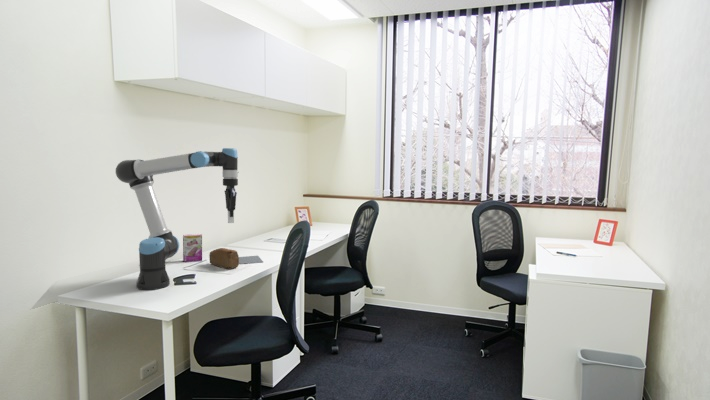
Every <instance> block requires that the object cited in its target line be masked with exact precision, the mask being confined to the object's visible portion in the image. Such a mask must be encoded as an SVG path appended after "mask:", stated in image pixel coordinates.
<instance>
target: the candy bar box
mask: <svg viewBox="0 0 710 400" xmlns="http://www.w3.org/2000/svg"><path fill="white" fill-rule="evenodd" d="M182 235H183V236H182V257H183V258H182V259H183V261H182V262H184V263H185V262H188V263H189V262H190V263H191V262H202V261H203V234H202V233H193V234H191V233H190V234H182Z"/></svg>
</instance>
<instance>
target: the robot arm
mask: <svg viewBox="0 0 710 400" xmlns="http://www.w3.org/2000/svg"><path fill="white" fill-rule="evenodd" d="M238 160H239V159H238V150H237V149H236V148H234V147H233V148H232V147H229V148H227V147H223V148H222V149H221V151H201V150H200V151H199V150H198V151H195V152H191V153H190V152H189V153H185V154H177V155H172V156H165V157H158V158H153V159H149V160H148V159H147V160H144V159H126V160H122V161H120V162H119V163H118V164H117V165H116V168H115V176H116V177H117V179H118V180H119V181H120V182H122V183H125V184H128V185H129V188H130V189H131V190H133V191H134V193H135V195H136V198H137V200H138V203H139V206H140V209H141V212H142V214H143V217H144V218H143V219H144V220H145V223H146V226H147V229H148V231H149V235H148V238H145V239H142V240H141V241H140V242H139V244H138V253H139V255H138V256H139V273H138V277H137V280H136V288H137V290H138V289H139V290H144V291H145V290H146V291H150V290H151V291H152V290H159V289H164V288H167V287H168V286H170V285H171V283H170V282H171V281H170V277H169V275H168V272H167V270H166V260H168V259H169V258H170V259H171V258H172V257H174V256H175V255H176V254H177V253H178V251H179V250H180V249H179V248H180V242H179V240H178V237H177V236H175V235H174V234H173V231H172V230H171V229H168V226H167V224H166V222H165V219H164V215H163V213H162V210H161V208H160V205H159V201H158V199H157V197H156V196H157V195H156V193H155V191H154V187H153V184H154V182H155V181H154V178H153V177H154V176H156V175H163V174H169V173H175V172H179V171H180V172H181V171H187V170H193V169H198V168H205V167H208V168H209V167H222V186H225V190H224V196H225V208H226V209H227V223H228V224H235V210H236V203H237V202H236V201H237V194H238V192H237V191H236V188H235V187H236V186H238V185H239V181H238V175H239V171H238Z"/></svg>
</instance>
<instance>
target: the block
mask: <svg viewBox="0 0 710 400" xmlns="http://www.w3.org/2000/svg"><path fill="white" fill-rule="evenodd" d="M239 257H240V256H239V254H238V251H237V250H235V249H230V248H229V249H228V248H225V247H221V248H216V249H214V250H212V251H210V252H209V257H208V258H209V263H210V265H212V266H215V267H219V268H224V269H235V268H238V267H239V265H240V264H239Z"/></svg>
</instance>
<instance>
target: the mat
mask: <svg viewBox="0 0 710 400" xmlns="http://www.w3.org/2000/svg"><path fill="white" fill-rule="evenodd" d="M247 263H249V264H259V263H264V260H262V258H261V257H260V256H259V255H249V256H247V255H246V256H239V265H245V264H247ZM247 265H248V264H247Z"/></svg>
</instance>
